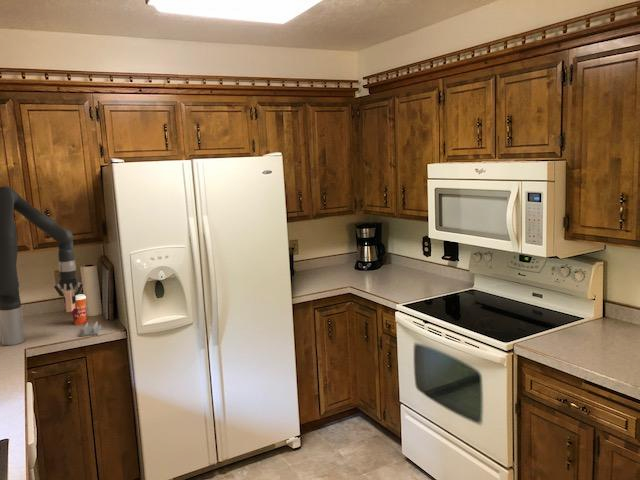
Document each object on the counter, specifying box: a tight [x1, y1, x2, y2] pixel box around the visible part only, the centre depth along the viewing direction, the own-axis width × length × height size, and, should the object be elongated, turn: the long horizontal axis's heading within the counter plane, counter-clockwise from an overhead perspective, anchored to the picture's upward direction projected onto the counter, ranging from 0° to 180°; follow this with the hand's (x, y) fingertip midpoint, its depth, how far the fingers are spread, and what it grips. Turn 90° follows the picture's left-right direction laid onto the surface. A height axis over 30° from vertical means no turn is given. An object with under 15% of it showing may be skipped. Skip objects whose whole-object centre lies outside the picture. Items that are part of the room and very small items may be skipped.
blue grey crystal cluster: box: [79, 321, 102, 338], centre depth 269 cm, size 8×13×4 cm, turn 15°
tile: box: [65, 290, 75, 313], centre depth 265 cm, size 9×2×10 cm, turn 15°
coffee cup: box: [71, 293, 87, 326], centre depth 285 cm, size 8×8×15 cm
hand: (70, 303), depth 265 cm, fingers closed on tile, 2 cm apart
